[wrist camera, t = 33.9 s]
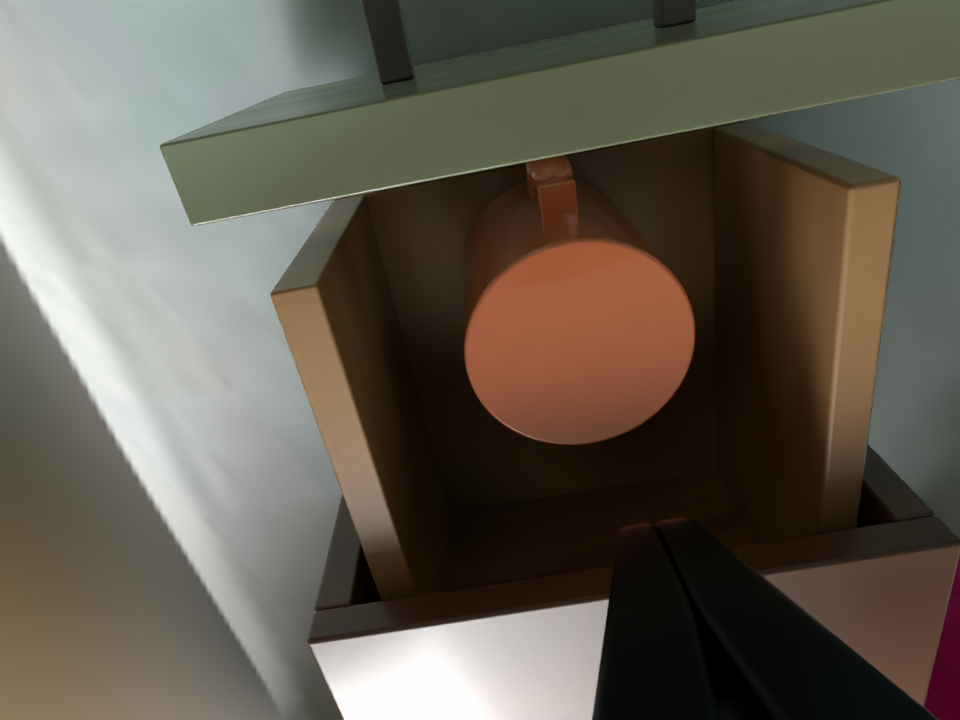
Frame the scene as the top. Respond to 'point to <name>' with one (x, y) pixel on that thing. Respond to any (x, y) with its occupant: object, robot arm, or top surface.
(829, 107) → the top surface
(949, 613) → the magenta rounded piece
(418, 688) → the cabinet
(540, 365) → the orange cylinder
